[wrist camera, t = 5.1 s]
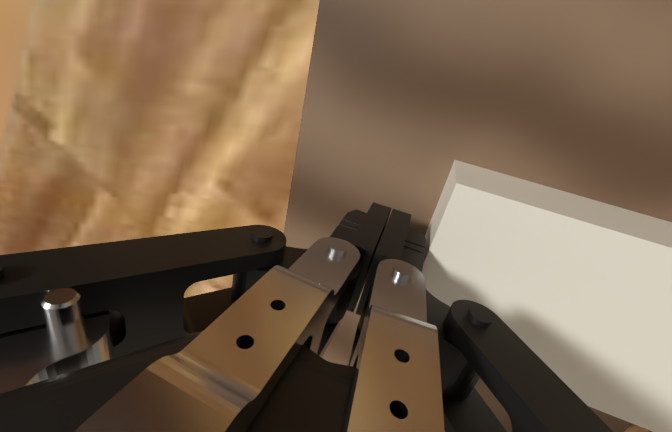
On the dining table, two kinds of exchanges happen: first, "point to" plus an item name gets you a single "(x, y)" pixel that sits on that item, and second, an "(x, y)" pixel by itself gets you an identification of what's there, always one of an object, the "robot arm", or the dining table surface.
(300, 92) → the dining table surface
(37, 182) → the dining table surface
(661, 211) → the plate
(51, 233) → the dining table surface
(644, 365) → the white rectangular block
